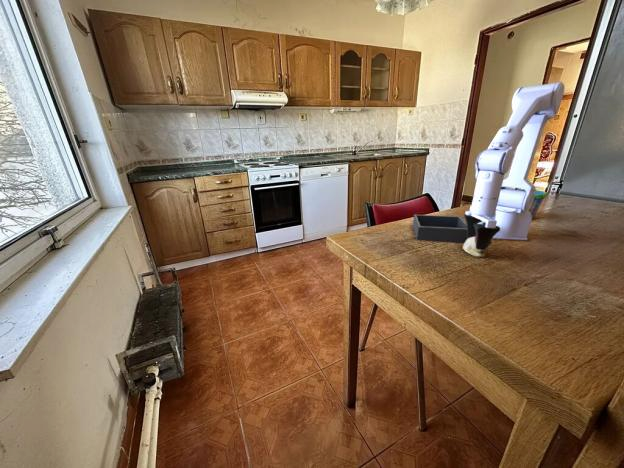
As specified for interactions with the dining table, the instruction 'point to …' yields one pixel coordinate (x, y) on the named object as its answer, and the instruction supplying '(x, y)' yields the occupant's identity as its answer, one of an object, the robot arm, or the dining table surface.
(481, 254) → the chocolate bunny
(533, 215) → the snack cup
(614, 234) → the dining table surface
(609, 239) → the dining table surface
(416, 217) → the bin
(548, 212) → the dining table surface
